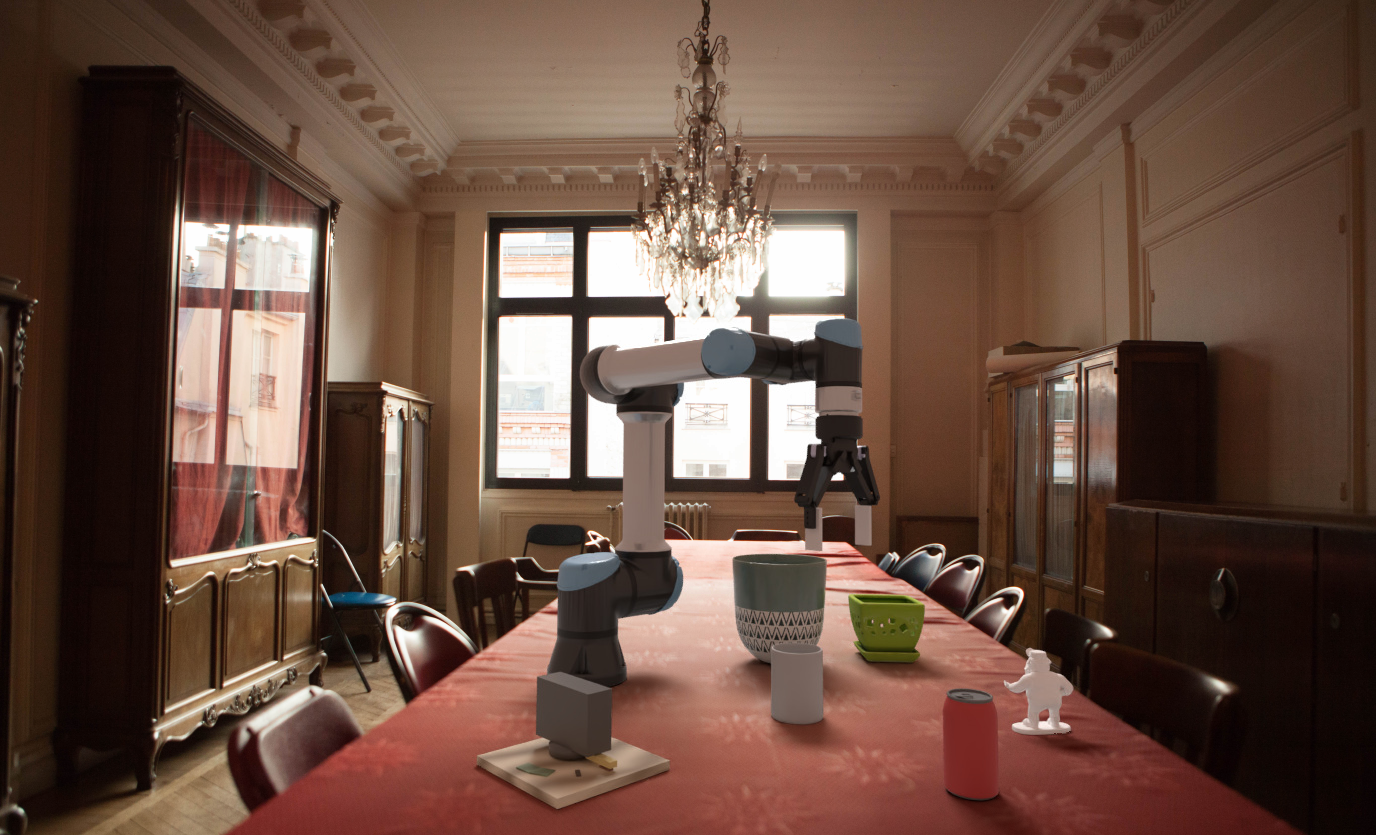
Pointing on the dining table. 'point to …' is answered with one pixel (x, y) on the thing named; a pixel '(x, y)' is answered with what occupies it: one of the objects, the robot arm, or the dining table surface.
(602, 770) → the board
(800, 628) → the planter
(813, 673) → the mug
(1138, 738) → the dining table surface
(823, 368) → the robot arm
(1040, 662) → the figurine
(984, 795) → the beer can
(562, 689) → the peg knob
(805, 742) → the dining table surface
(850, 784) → the dining table surface
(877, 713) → the dining table surface
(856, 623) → the flower pot
